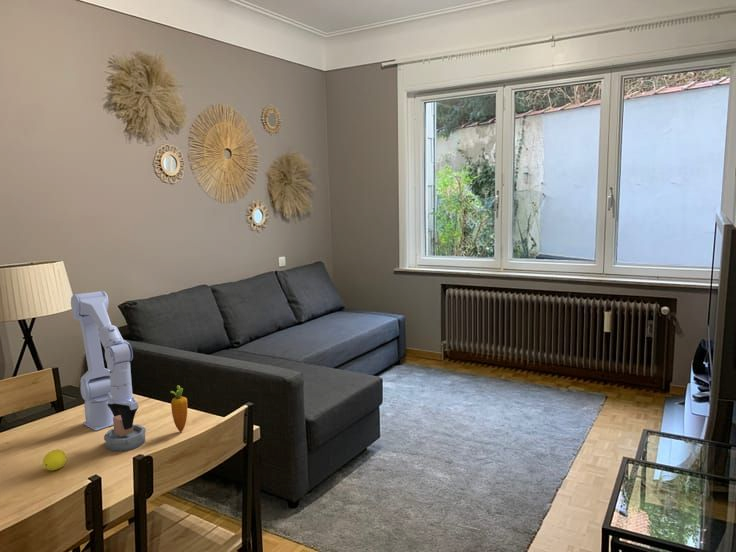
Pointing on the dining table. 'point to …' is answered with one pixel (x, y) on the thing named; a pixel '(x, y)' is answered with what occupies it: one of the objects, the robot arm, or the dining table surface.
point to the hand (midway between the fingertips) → (124, 426)
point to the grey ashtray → (125, 439)
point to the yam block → (120, 426)
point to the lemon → (54, 460)
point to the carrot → (179, 409)
